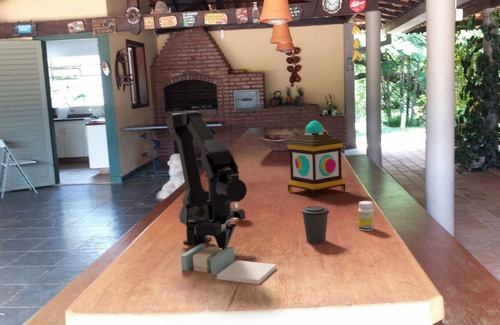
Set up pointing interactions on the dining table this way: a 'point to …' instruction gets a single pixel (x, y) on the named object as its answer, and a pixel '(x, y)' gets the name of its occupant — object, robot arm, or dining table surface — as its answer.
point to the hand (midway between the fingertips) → (222, 251)
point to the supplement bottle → (365, 216)
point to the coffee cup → (315, 224)
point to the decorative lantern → (315, 160)
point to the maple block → (204, 259)
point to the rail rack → (217, 261)
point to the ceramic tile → (247, 272)
